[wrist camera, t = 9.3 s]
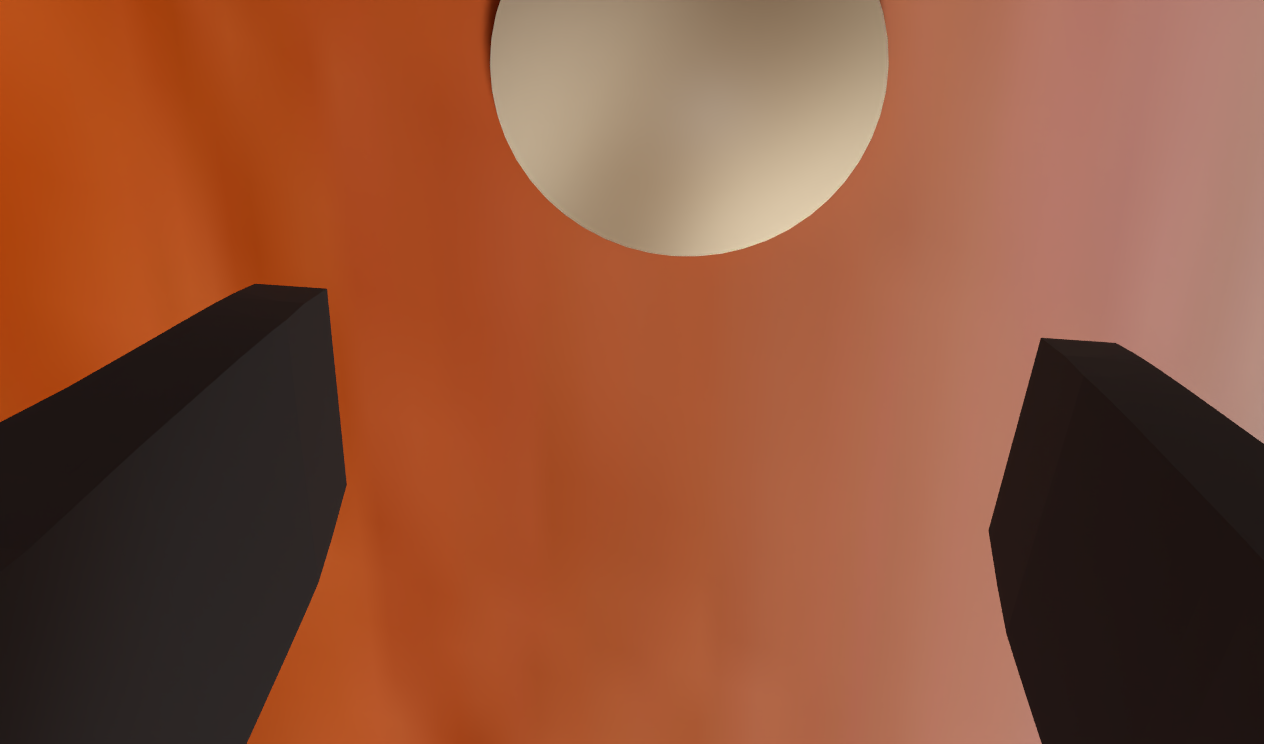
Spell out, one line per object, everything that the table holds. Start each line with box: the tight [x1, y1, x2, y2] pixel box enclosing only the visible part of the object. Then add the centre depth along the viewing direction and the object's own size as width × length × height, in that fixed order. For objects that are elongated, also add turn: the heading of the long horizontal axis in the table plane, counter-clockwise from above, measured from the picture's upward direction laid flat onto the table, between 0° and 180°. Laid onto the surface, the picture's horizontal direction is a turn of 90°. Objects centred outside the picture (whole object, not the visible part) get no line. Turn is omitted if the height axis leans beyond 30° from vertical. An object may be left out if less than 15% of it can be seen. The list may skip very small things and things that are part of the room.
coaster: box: [490, 0, 889, 256], centre depth 18 cm, size 6×6×1 cm
